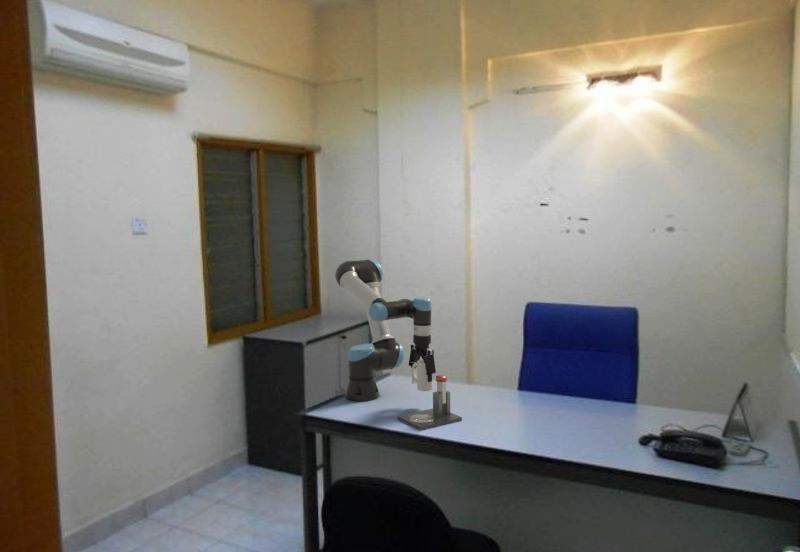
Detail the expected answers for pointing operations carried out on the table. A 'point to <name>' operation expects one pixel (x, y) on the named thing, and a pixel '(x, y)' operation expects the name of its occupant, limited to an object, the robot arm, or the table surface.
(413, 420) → the dark grey holder stand
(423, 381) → the mug
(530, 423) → the table surface
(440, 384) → the red-capped tube
